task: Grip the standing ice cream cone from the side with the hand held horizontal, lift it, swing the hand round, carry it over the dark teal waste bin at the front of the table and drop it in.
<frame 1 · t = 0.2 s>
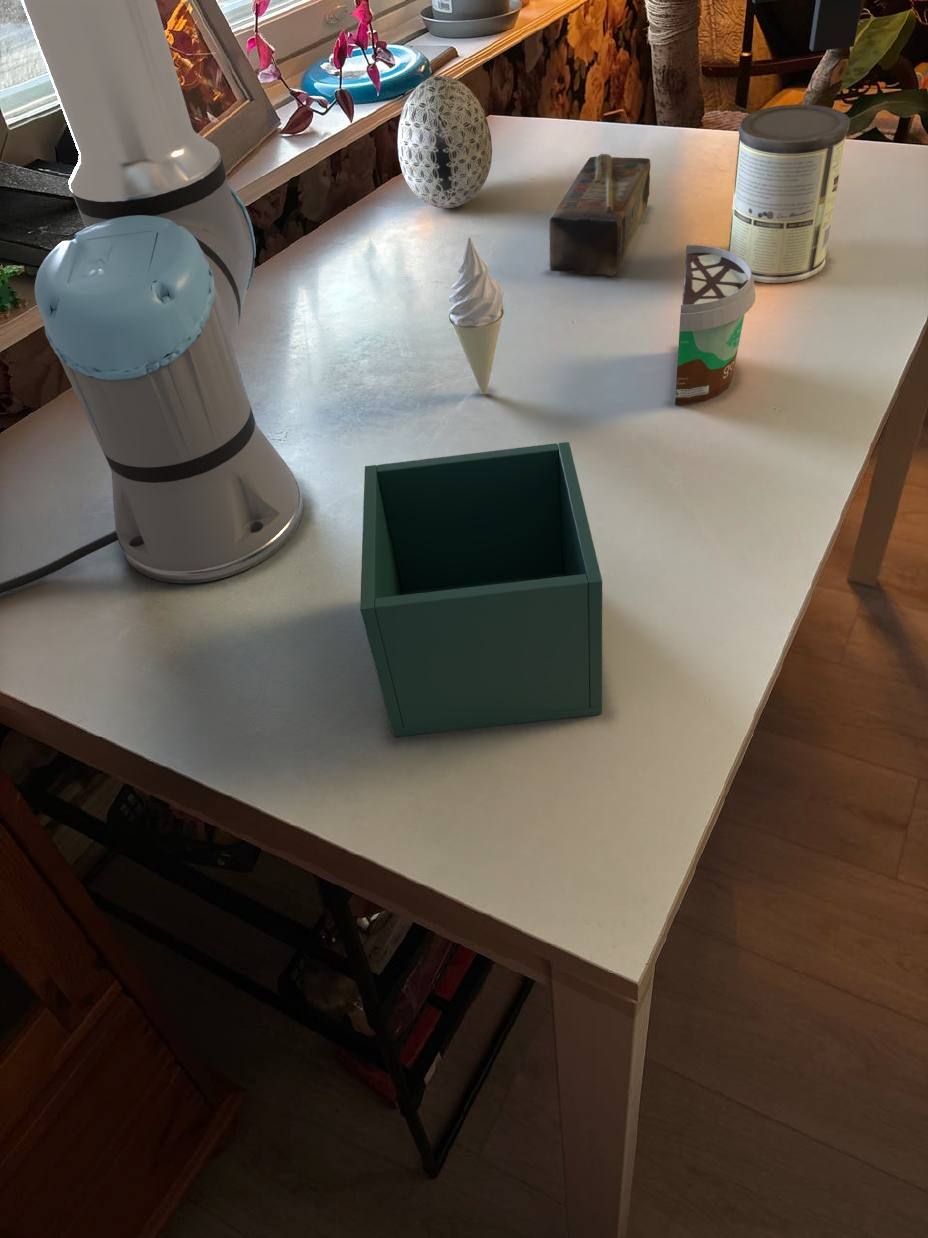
hand: (799, 22, 66), 28 cm above the table, tool pointing down, fingers open, 13 cm apart
decorative egg: (451, 206, 121), on the table
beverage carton: (601, 241, 109), on the table
coffee can: (774, 263, 100), on the table
ice cream cone: (484, 395, 88), on the table
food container: (710, 378, 86), on the table
waste bin: (489, 649, 65), on the table
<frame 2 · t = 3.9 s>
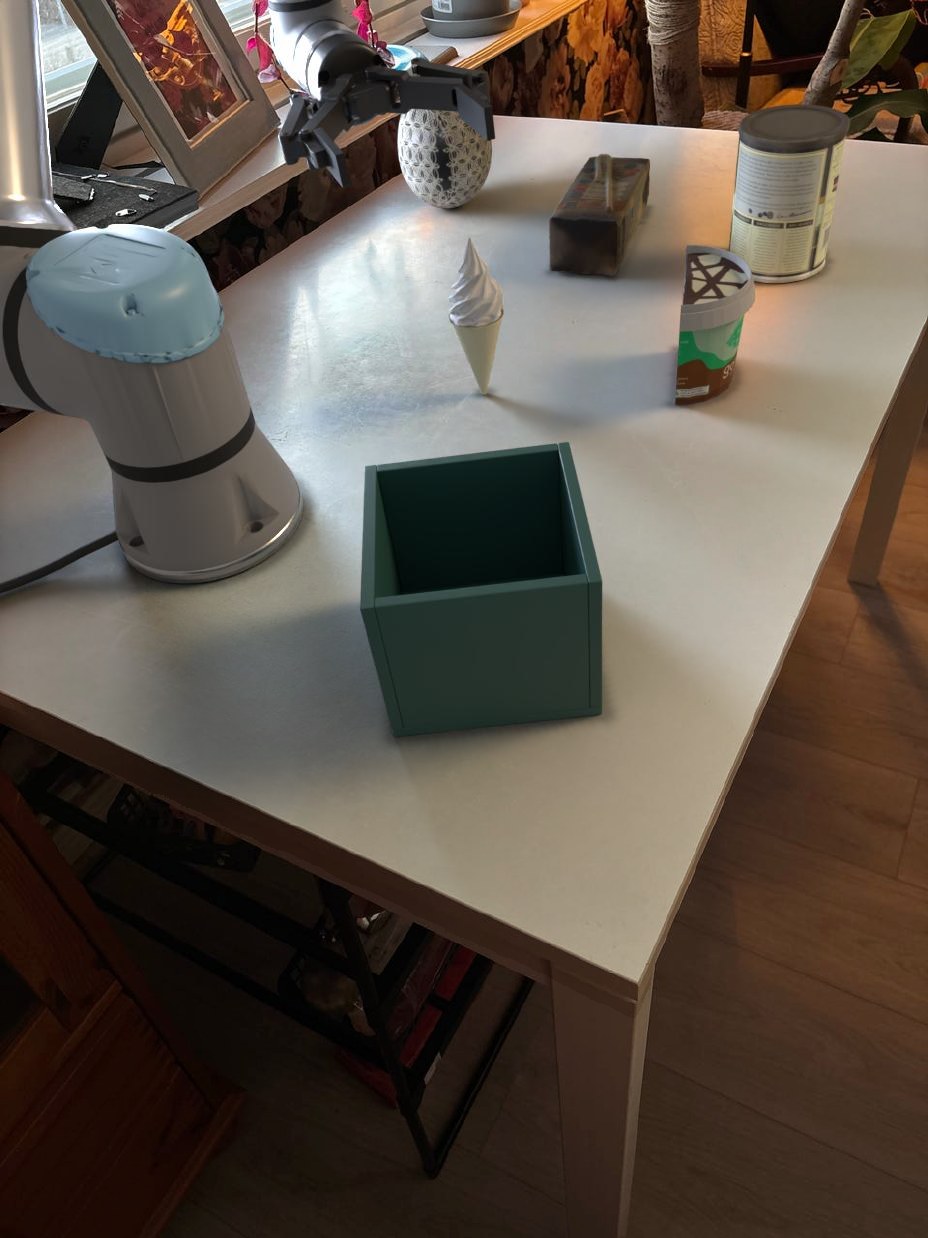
hand: (417, 146, 79), 20 cm above the table, tool horizontal, fingers open, 13 cm apart
nothing on the table moved.
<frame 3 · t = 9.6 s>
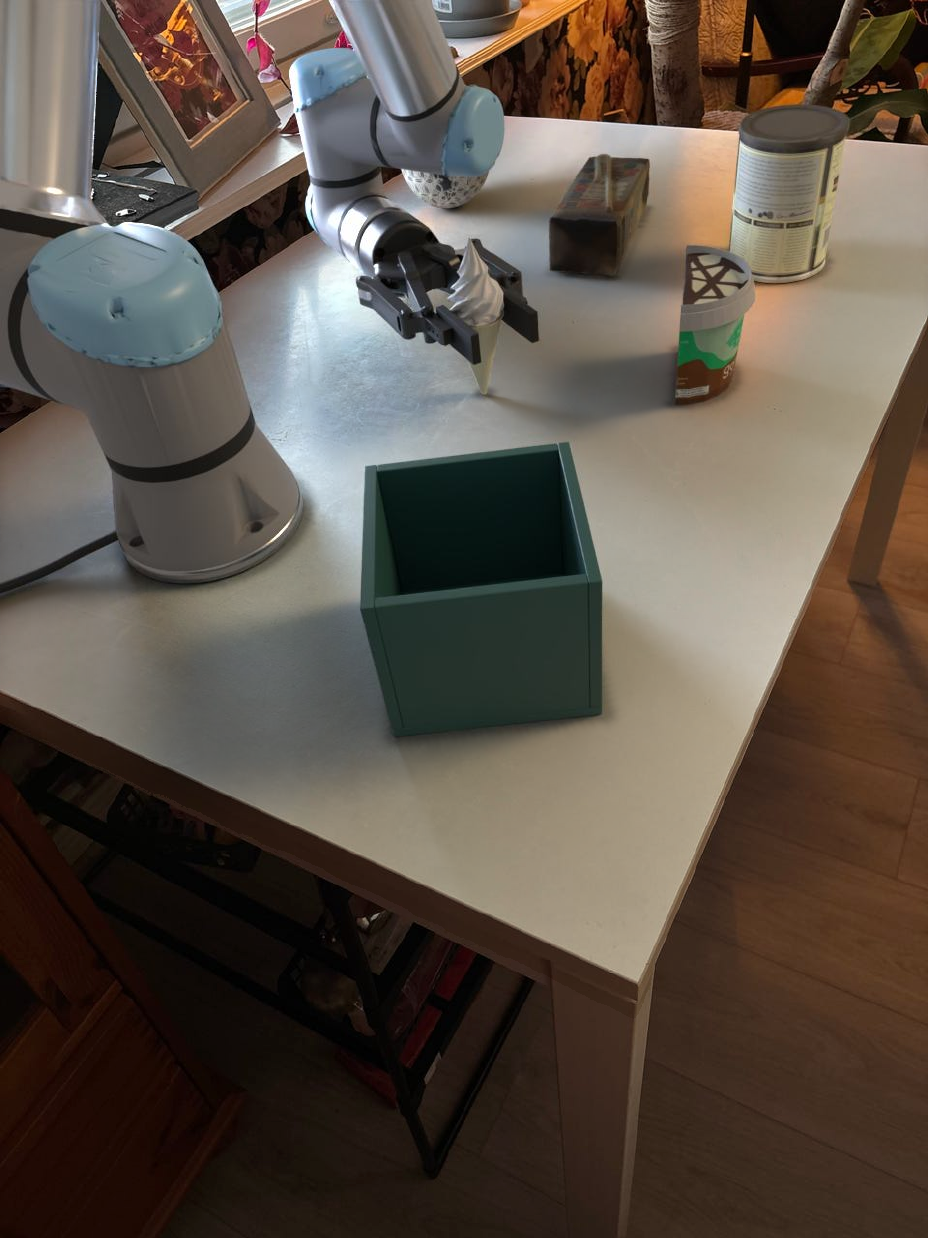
hand: (505, 338, 79), 8 cm above the table, tool horizontal, fingers closed on ice cream cone, 5 cm apart
ice cream cone: (484, 395, 88), on the table, touching gripper
everything else where it was.
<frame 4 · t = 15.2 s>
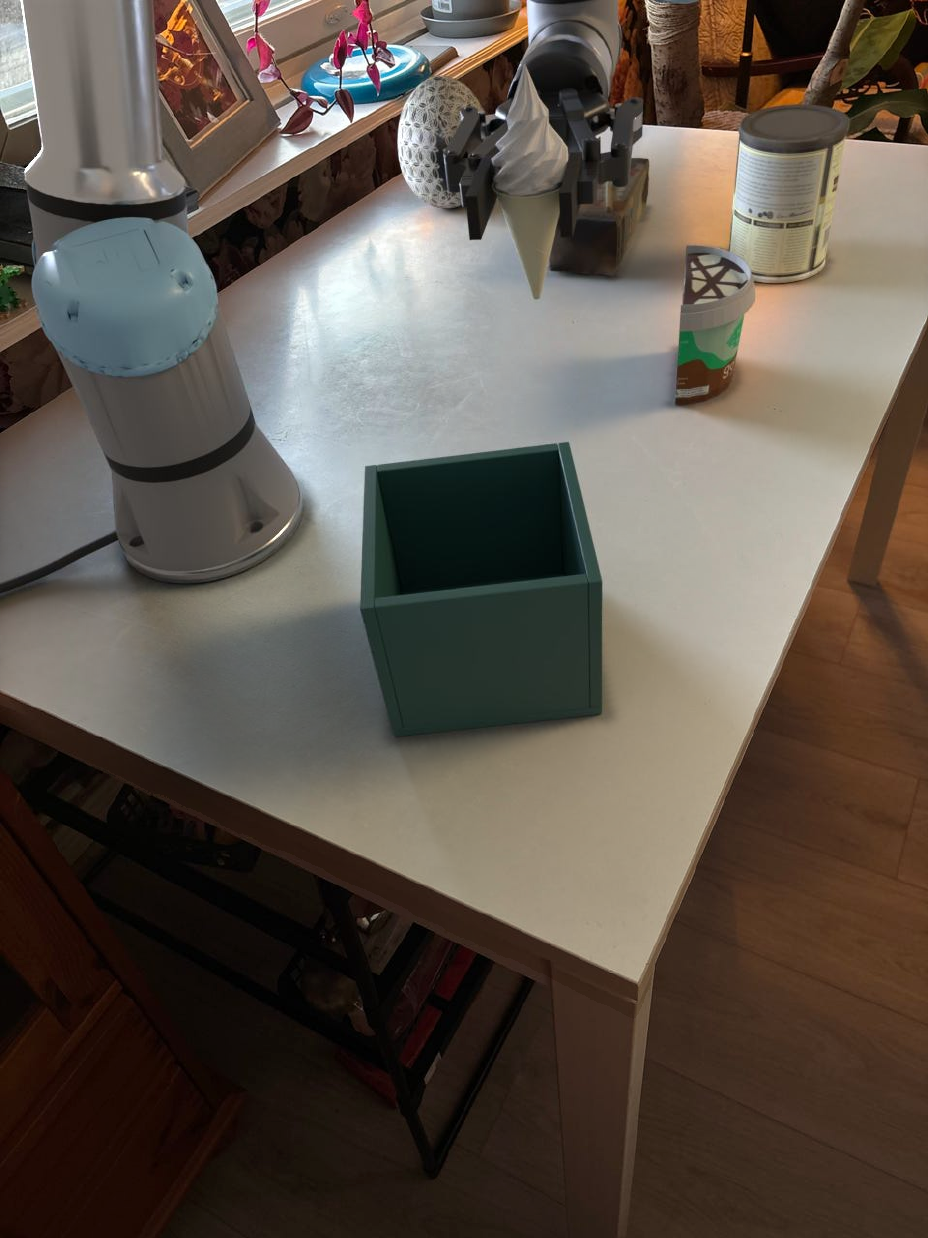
hand: (519, 216, 57), 24 cm above the table, tool horizontal, fingers closed on ice cream cone, 5 cm apart
ice cream cone: (537, 300, 66), point 16 cm above the table, touching gripper
everything else where it was.
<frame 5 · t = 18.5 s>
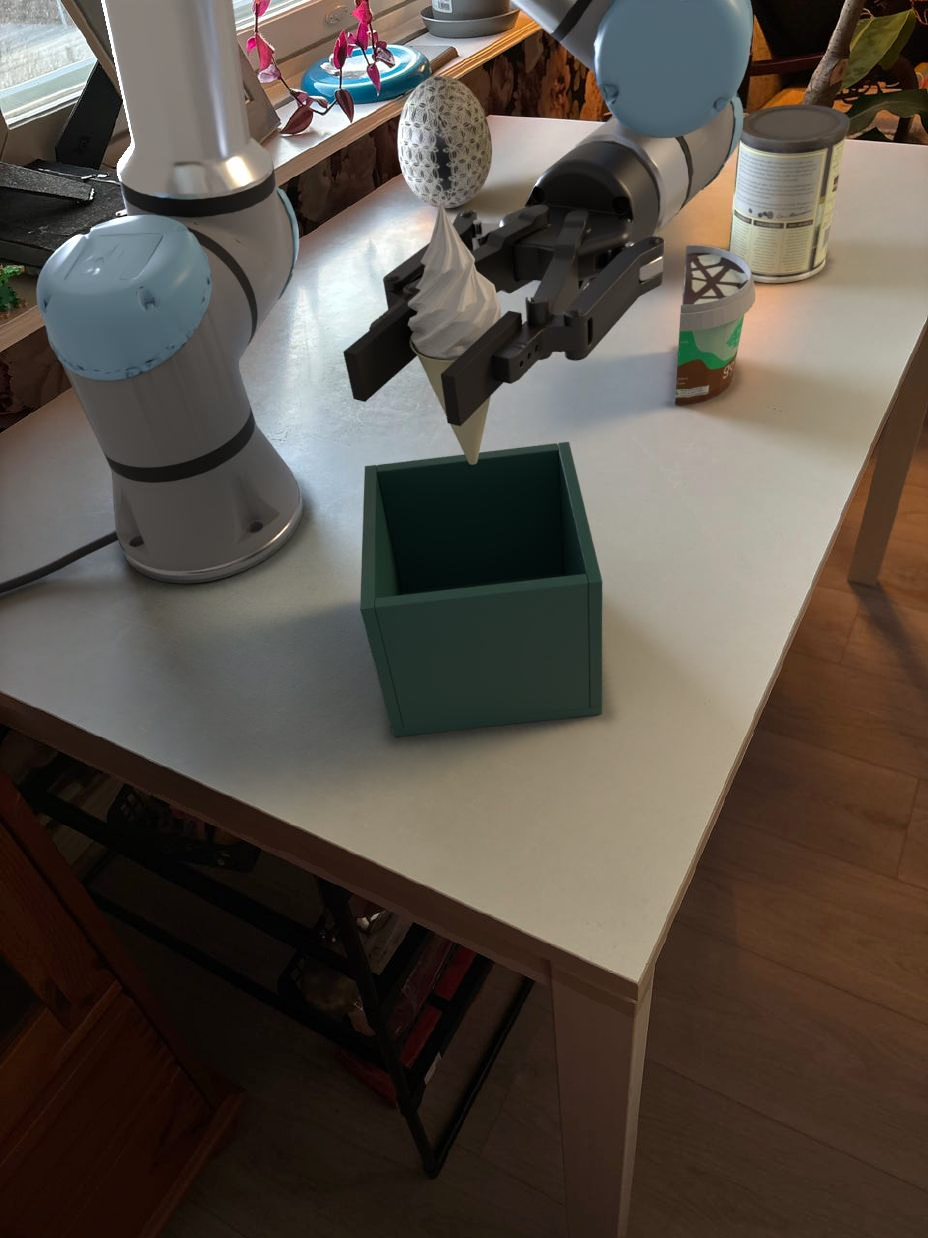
hand: (401, 388, 46), 24 cm above the table, tool horizontal, fingers closed on ice cream cone, 5 cm apart
ice cream cone: (473, 465, 54), point 15 cm above the table, touching gripper
everything else where it was.
when the fingers open (16 cm above the table, at t = 21.0 s): ice cream cone drops 7 cm, resting on waste bin.
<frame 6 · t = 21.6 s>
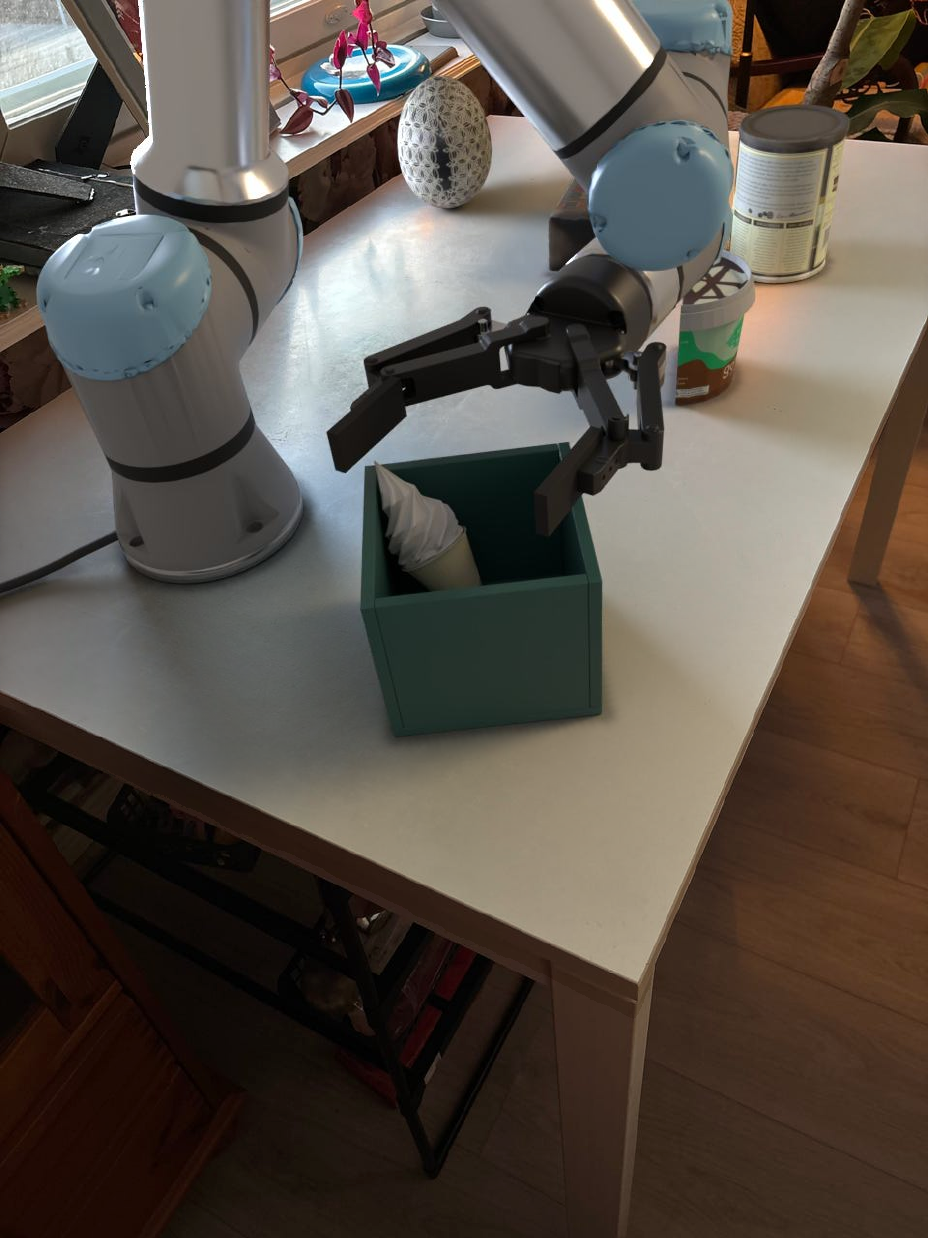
hand: (432, 482, 51), 17 cm above the table, tool horizontal, fingers open, 13 cm apart
ice cream cone: (498, 645, 64), point 1 cm above the table, touching waste bin
everything else where it was.
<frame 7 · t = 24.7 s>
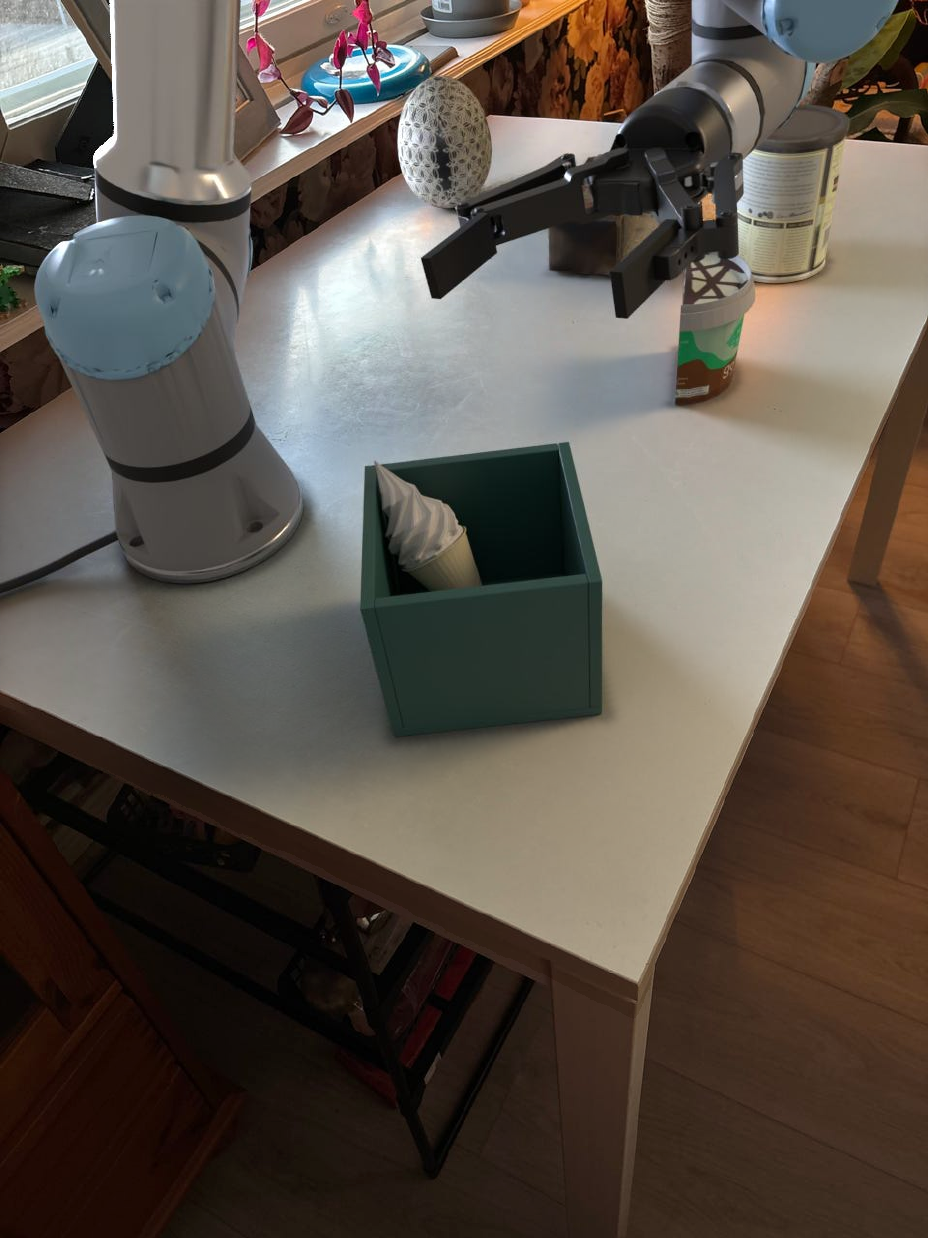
hand: (517, 286, 55), 22 cm above the table, tool horizontal, fingers open, 13 cm apart
nothing on the table moved.
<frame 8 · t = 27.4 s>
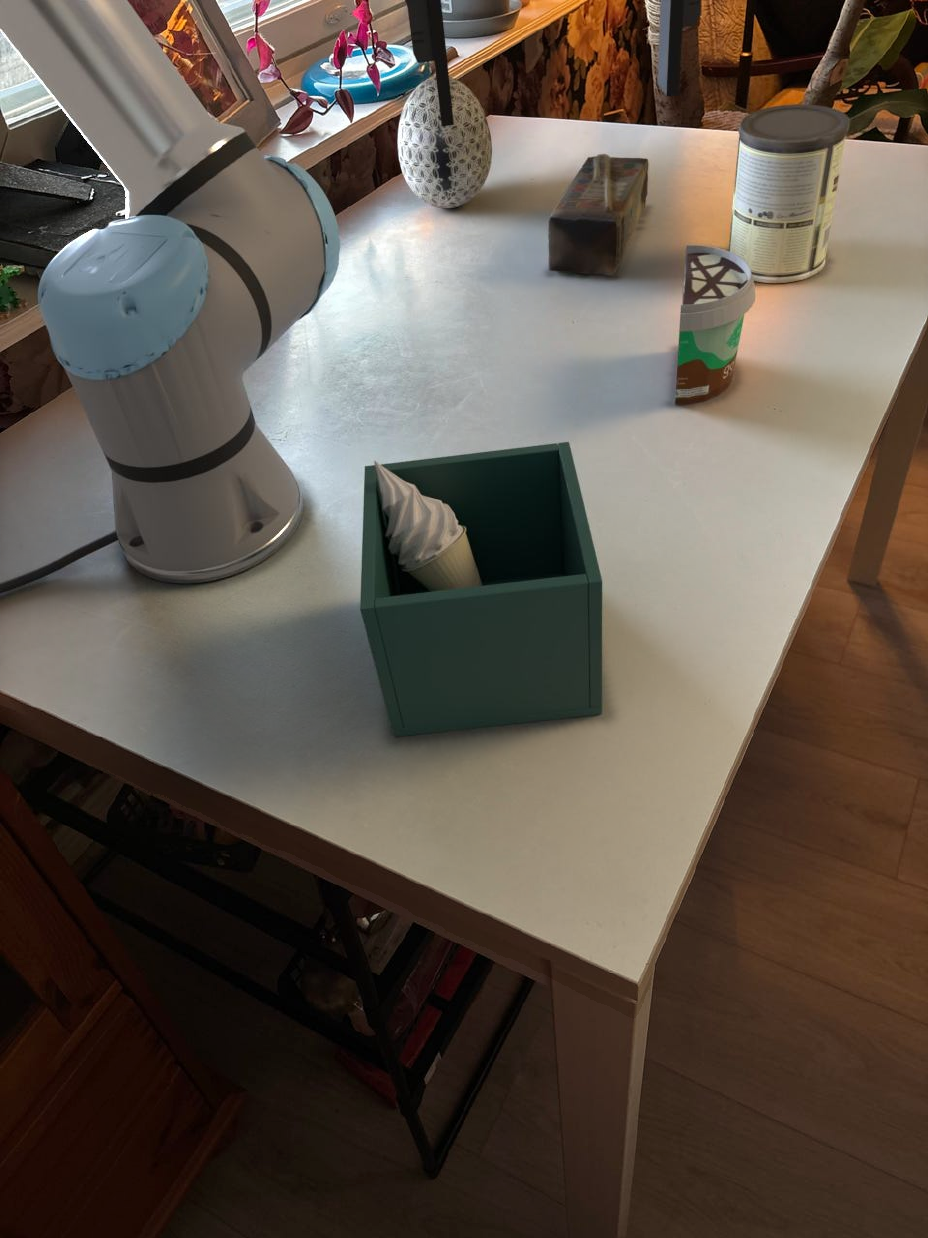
hand: (556, 104, 57), 29 cm above the table, tool pointing down, fingers open, 13 cm apart
nothing on the table moved.
at the end: ice cream cone inside the target area in the waste bin (0.7 cm from its centre), point 0.8 cm above the waste bin's base; the gripper is holding nothing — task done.
